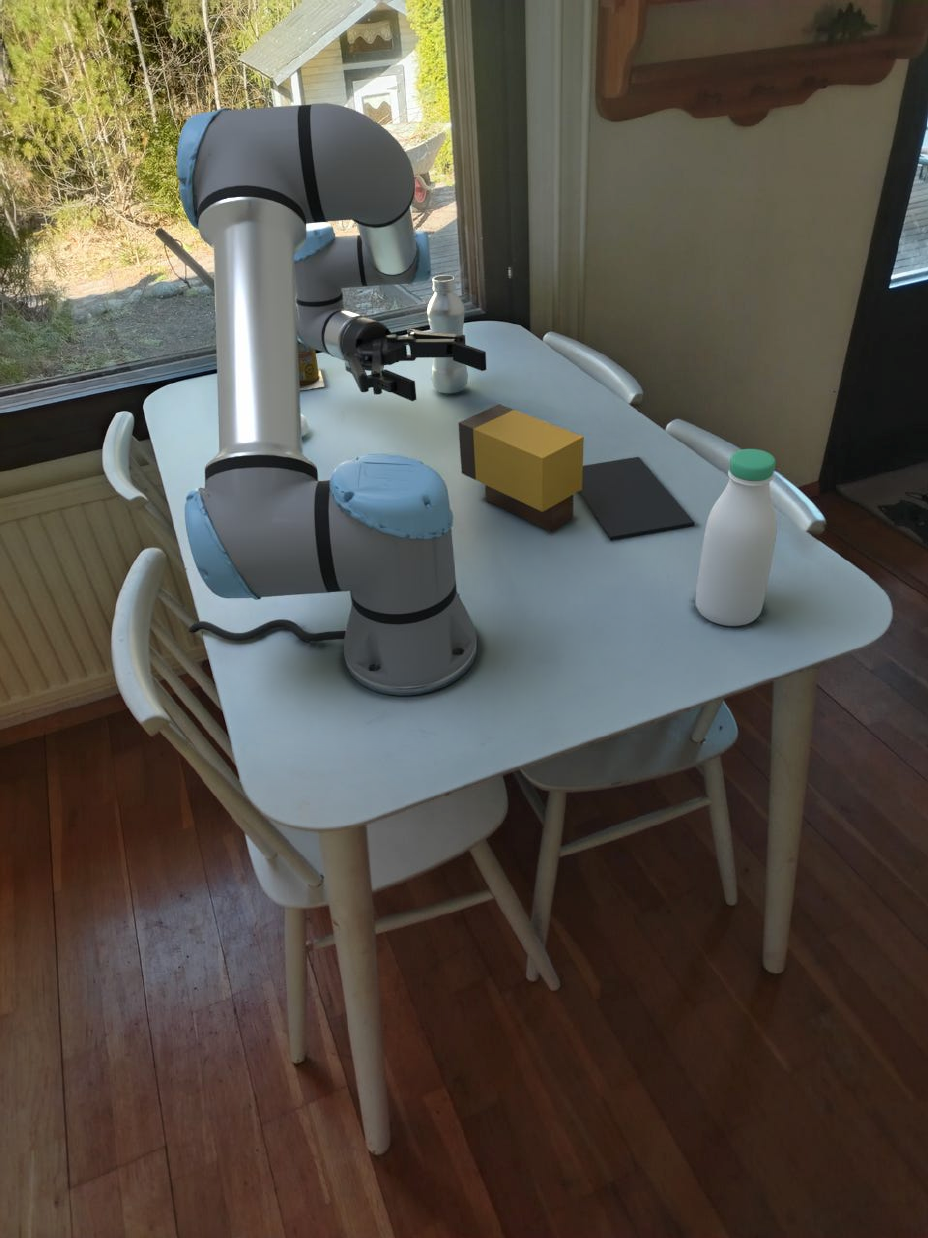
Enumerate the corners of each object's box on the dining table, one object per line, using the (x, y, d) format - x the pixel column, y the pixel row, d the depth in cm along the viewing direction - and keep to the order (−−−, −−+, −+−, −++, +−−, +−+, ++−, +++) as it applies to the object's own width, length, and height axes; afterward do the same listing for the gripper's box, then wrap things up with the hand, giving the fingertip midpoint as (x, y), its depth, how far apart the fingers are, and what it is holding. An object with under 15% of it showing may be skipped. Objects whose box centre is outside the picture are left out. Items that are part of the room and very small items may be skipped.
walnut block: (485, 500, 125) (484, 475, 122) (507, 488, 127) (506, 464, 125) (551, 532, 117) (551, 507, 115) (573, 519, 119) (573, 494, 117)
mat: (610, 540, 115) (610, 536, 114) (564, 472, 130) (564, 468, 130) (694, 525, 116) (694, 522, 116) (638, 459, 132) (638, 456, 131)
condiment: (320, 370, 167) (310, 309, 160) (324, 387, 161) (314, 324, 153) (283, 376, 166) (271, 314, 159) (285, 392, 160) (273, 329, 152)
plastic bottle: (428, 386, 158) (419, 275, 146) (463, 380, 160) (456, 270, 147) (437, 400, 153) (429, 286, 141) (473, 393, 155) (467, 280, 142)
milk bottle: (763, 630, 98) (795, 476, 86) (694, 625, 100) (716, 473, 87) (759, 591, 104) (788, 441, 92) (694, 586, 105) (714, 439, 93)
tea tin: (582, 489, 118) (583, 436, 113) (542, 512, 114) (542, 458, 109) (500, 453, 127) (499, 403, 122) (461, 473, 123) (458, 422, 118)
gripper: (421, 341, 143) (511, 373, 130) (298, 389, 130) (384, 430, 117) (417, 296, 138) (510, 325, 125) (289, 340, 125) (378, 378, 113)
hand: (450, 376), depth 121 cm, fingers open, 13 cm apart
